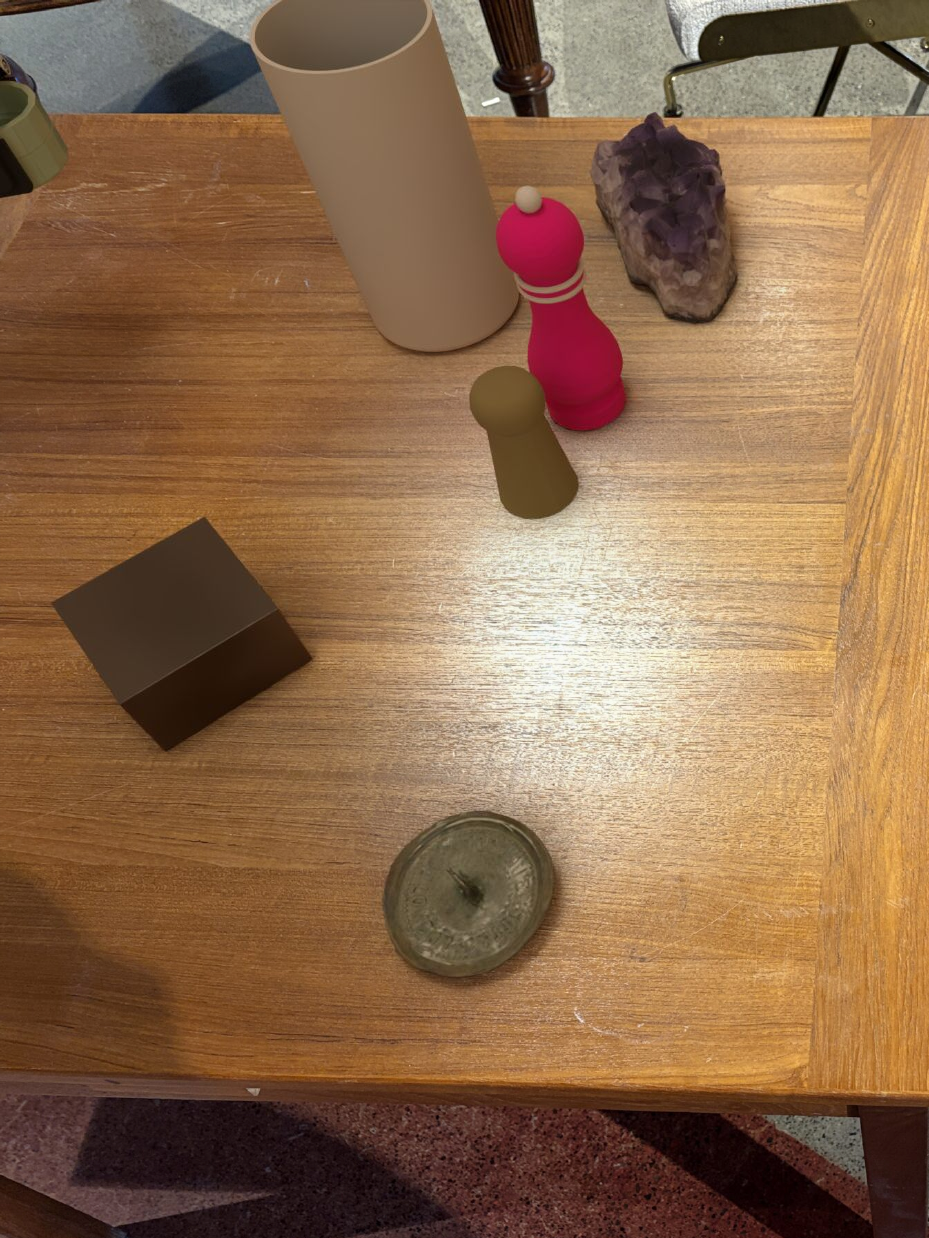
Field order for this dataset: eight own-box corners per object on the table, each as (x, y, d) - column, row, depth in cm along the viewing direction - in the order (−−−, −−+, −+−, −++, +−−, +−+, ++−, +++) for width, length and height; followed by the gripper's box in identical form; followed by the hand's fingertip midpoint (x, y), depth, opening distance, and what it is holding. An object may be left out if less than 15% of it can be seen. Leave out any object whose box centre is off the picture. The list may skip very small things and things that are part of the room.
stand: (165, 752, 85) (119, 704, 80) (97, 653, 90) (50, 602, 85) (313, 659, 89) (278, 608, 84) (241, 569, 94) (204, 515, 89)
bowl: (-6, 212, 92) (-49, 150, 88) (-43, 170, 95) (-86, 108, 91) (88, 171, 95) (50, 109, 90) (49, 131, 97) (11, 69, 93)
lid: (569, 840, 83) (549, 787, 79) (557, 967, 75) (534, 915, 72) (407, 864, 82) (379, 812, 79) (378, 994, 75) (347, 943, 72)
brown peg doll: (491, 474, 99) (448, 367, 90) (566, 450, 100) (532, 342, 91) (510, 528, 96) (467, 424, 87) (588, 503, 97) (554, 397, 88)
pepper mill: (574, 450, 100) (507, 236, 83) (525, 401, 103) (451, 186, 87) (650, 405, 103) (599, 190, 86) (599, 359, 106) (541, 143, 89)
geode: (784, 303, 109) (759, 210, 101) (658, 352, 108) (622, 263, 100) (712, 162, 119) (684, 67, 111) (596, 206, 118) (559, 114, 110)
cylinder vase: (522, 252, 114) (436, -32, 93) (521, 347, 107) (428, 63, 86) (379, 268, 113) (260, -15, 92) (369, 365, 106) (238, 82, 85)
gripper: (-188, -145, 84) (-25, 105, 98) (-241, -10, 74) (-52, 244, 89) (-66, -161, 85) (78, 88, 99) (-102, -31, 75) (62, 224, 90)
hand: (15, 160), depth 94 cm, fingers closed on bowl, 7 cm apart
